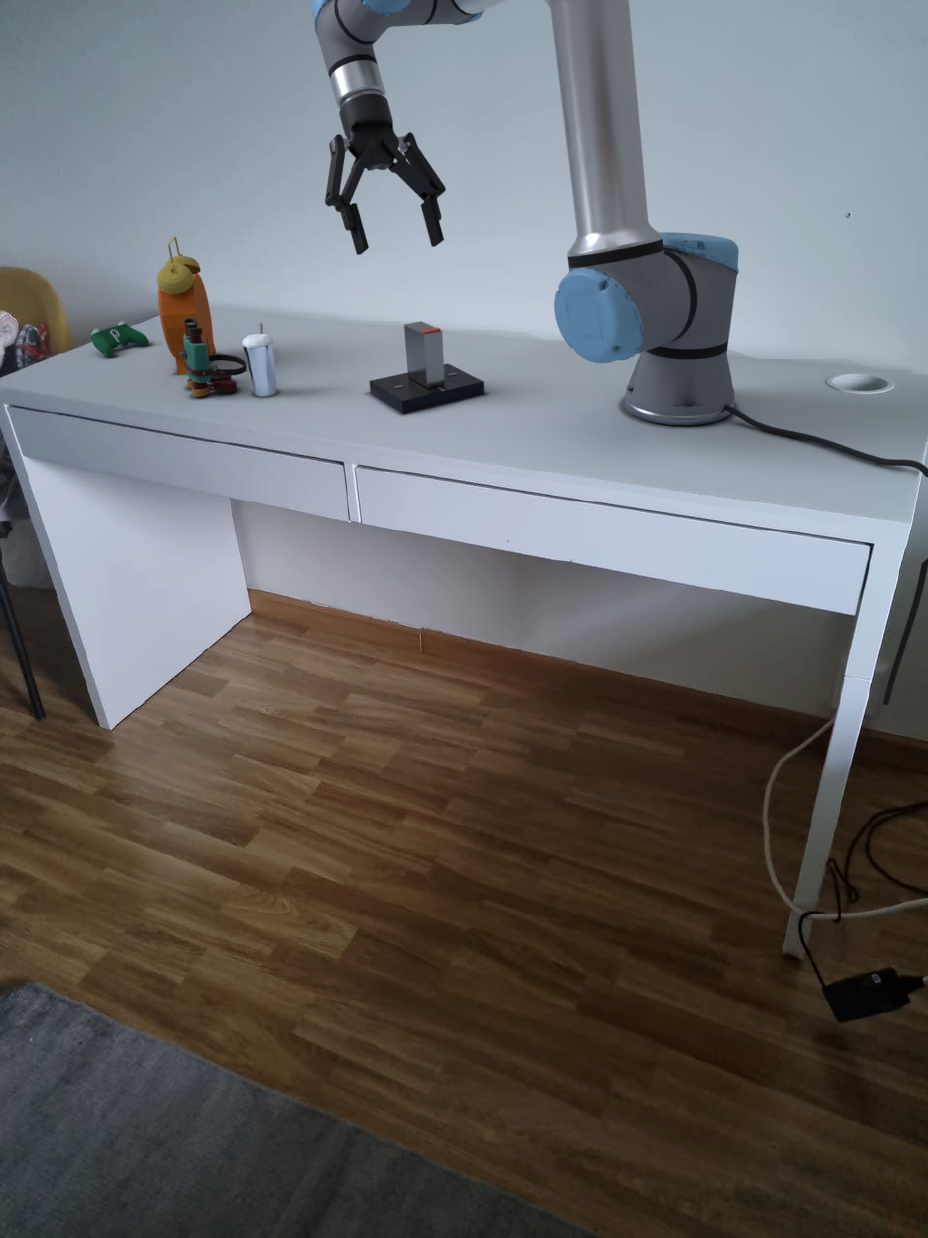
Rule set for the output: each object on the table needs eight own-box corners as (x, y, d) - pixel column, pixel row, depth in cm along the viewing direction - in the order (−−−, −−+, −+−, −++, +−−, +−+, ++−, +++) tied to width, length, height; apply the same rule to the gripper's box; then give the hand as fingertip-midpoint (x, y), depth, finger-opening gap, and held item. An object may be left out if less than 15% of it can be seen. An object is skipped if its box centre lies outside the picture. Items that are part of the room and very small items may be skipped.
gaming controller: (145, 352, 166) (125, 327, 166) (151, 340, 164) (131, 313, 163) (103, 366, 160) (83, 340, 160) (108, 353, 157) (87, 326, 157)
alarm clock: (184, 353, 159) (158, 233, 148) (219, 350, 159) (196, 231, 148) (172, 377, 148) (143, 250, 137) (209, 374, 148) (184, 247, 137)
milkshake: (285, 386, 142) (275, 322, 137) (276, 398, 138) (265, 332, 132) (257, 386, 143) (246, 323, 137) (247, 398, 138) (236, 333, 133)
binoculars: (247, 328, 136) (180, 330, 132) (252, 396, 141) (187, 400, 138) (236, 314, 143) (171, 316, 139) (241, 379, 148) (179, 383, 144)
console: (448, 375, 144) (448, 361, 142) (484, 394, 135) (484, 380, 134) (370, 393, 138) (369, 379, 137) (402, 414, 130) (401, 399, 129)
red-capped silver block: (407, 376, 137) (403, 322, 133) (424, 373, 139) (421, 319, 134) (427, 388, 133) (423, 332, 128) (445, 384, 134) (442, 329, 129)
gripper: (419, 114, 143) (454, 248, 146) (277, 117, 130) (319, 263, 133) (443, 90, 137) (479, 230, 140) (296, 90, 124) (339, 245, 127)
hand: (401, 247), depth 136 cm, fingers open, 13 cm apart
